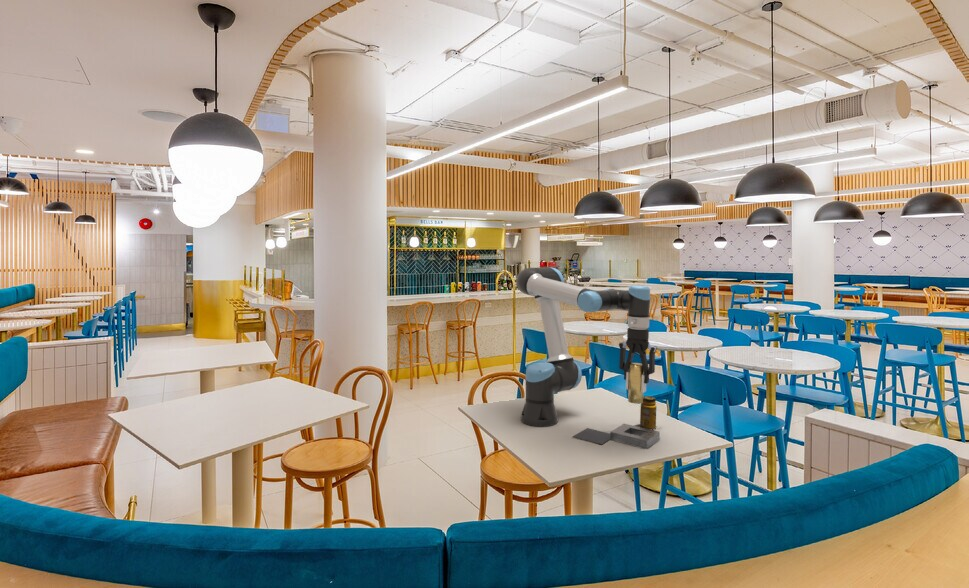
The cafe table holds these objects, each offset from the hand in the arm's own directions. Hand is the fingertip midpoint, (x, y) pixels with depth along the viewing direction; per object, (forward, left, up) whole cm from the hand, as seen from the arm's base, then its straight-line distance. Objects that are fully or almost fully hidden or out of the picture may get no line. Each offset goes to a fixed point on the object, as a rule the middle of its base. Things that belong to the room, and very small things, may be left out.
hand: (635, 390), depth 184 cm
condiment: (-2, +16, -19) cm, 25 cm away
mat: (-13, -7, -19) cm, 24 cm away
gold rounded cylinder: (0, 0, -4) cm, 4 cm away
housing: (0, 0, -19) cm, 19 cm away
